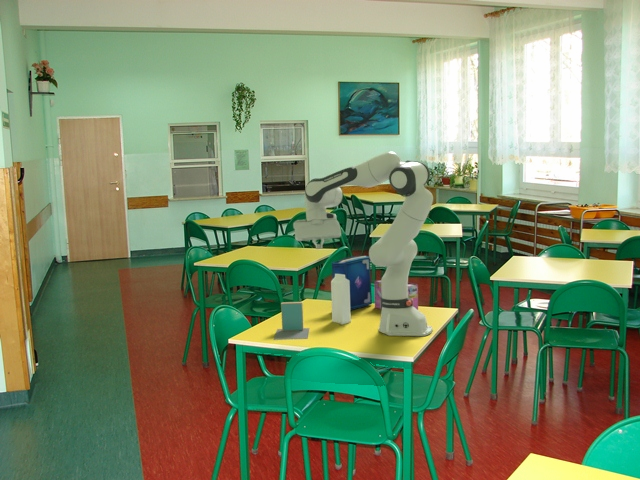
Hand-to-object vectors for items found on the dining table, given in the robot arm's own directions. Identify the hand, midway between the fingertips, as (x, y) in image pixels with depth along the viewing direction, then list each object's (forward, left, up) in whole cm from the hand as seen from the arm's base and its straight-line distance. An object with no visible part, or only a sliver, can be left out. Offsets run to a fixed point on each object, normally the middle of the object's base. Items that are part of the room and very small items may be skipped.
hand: (319, 248), depth 280 cm
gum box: (-23, -39, -35) cm, 57 cm away
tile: (+9, +10, -34) cm, 37 cm away
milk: (-6, -10, -35) cm, 36 cm away
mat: (+7, +16, -35) cm, 39 cm away
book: (-1, -38, -35) cm, 52 cm away
